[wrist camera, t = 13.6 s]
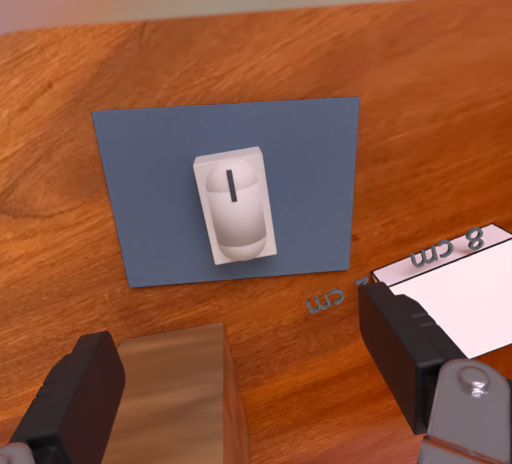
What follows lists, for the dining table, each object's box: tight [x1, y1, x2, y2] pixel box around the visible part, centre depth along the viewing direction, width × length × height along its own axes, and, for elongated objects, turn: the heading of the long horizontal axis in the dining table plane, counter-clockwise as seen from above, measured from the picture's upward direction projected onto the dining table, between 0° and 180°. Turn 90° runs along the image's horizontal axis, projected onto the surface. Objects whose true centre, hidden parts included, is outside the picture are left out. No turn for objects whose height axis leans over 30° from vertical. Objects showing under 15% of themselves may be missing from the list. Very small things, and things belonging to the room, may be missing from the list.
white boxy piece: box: [193, 146, 277, 265], centre depth 22 cm, size 7×4×4 cm, turn 9°
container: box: [305, 223, 512, 359], centre depth 27 cm, size 20×11×3 cm, turn 113°
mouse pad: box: [91, 97, 360, 288], centre depth 24 cm, size 16×12×1 cm
